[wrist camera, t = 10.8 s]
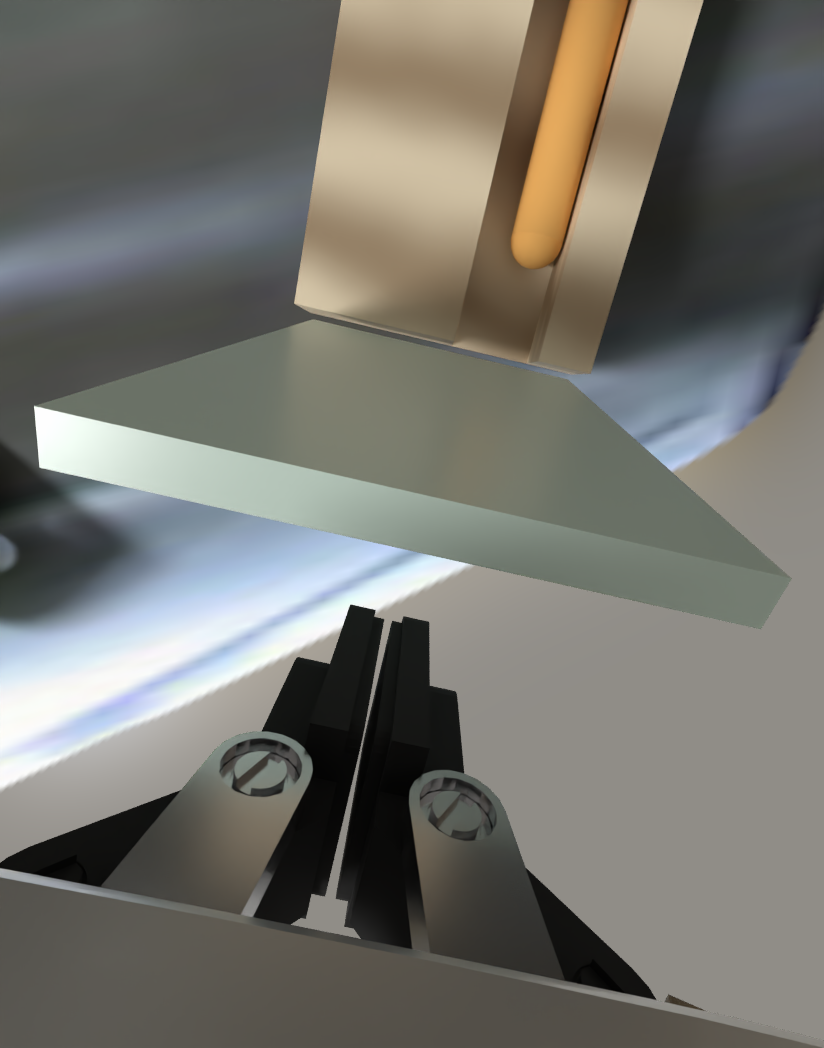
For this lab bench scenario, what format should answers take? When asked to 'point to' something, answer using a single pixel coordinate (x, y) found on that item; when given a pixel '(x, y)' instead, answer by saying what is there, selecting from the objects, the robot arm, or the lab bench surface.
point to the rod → (565, 128)
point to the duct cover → (416, 464)
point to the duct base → (477, 173)
